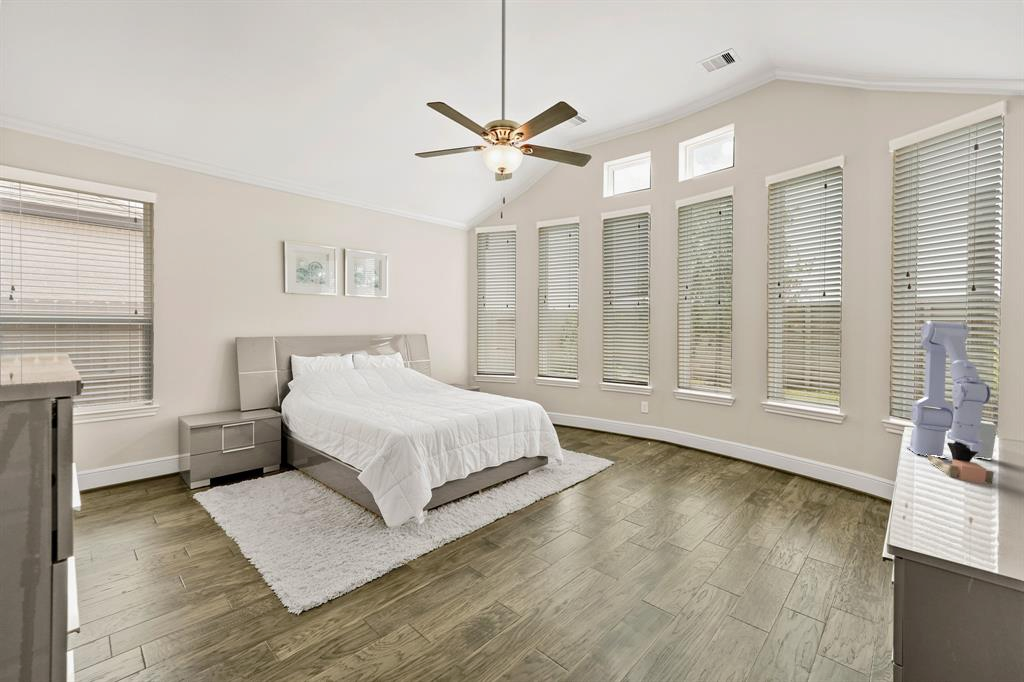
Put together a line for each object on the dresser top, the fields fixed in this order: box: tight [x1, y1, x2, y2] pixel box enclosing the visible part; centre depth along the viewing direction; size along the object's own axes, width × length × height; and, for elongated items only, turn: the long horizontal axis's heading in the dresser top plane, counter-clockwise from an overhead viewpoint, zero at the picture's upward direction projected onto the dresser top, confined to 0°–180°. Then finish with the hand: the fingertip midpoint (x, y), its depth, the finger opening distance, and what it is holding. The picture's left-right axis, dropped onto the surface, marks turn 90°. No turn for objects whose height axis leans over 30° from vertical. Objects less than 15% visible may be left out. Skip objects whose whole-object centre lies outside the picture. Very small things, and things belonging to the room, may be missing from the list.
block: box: [951, 459, 988, 484], centre depth 126 cm, size 6×5×4 cm
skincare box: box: [973, 420, 998, 459], centre depth 146 cm, size 6×4×12 cm
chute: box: [926, 455, 995, 484], centre depth 131 cm, size 15×9×3 cm, turn 155°
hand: (959, 469), depth 130 cm, fingers closed
